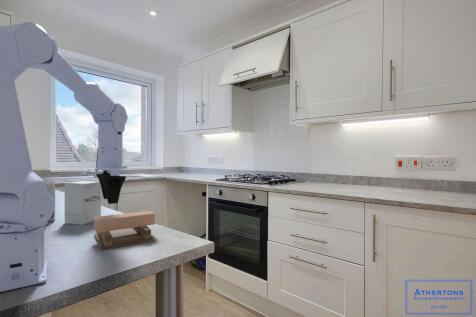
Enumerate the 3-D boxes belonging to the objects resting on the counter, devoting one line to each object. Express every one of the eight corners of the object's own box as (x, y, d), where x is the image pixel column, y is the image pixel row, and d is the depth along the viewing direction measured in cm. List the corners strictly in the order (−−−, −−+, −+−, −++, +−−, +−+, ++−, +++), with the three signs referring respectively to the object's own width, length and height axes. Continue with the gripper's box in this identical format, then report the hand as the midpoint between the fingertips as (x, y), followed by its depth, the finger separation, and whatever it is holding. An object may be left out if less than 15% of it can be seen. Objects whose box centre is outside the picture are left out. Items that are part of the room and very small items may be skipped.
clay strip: (96, 233, 63) (96, 220, 63) (93, 228, 67) (93, 217, 66) (154, 224, 71) (154, 213, 71) (150, 221, 75) (150, 210, 75)
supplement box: (83, 225, 80) (83, 183, 80) (63, 223, 82) (63, 182, 81) (101, 219, 87) (101, 181, 87) (83, 217, 89) (83, 180, 89)
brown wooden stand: (153, 240, 67) (154, 228, 67) (101, 250, 60) (101, 237, 60) (140, 228, 77) (141, 218, 77) (94, 236, 70) (94, 224, 70)
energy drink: (30, 224, 80) (30, 184, 80) (38, 219, 85) (38, 182, 85) (51, 223, 82) (51, 184, 81) (57, 218, 87) (57, 182, 87)
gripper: (133, 149, 66) (132, 204, 66) (121, 149, 78) (121, 195, 78) (101, 149, 62) (101, 207, 62) (94, 149, 74) (94, 197, 74)
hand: (110, 200), depth 70 cm, fingers open, 7 cm apart
